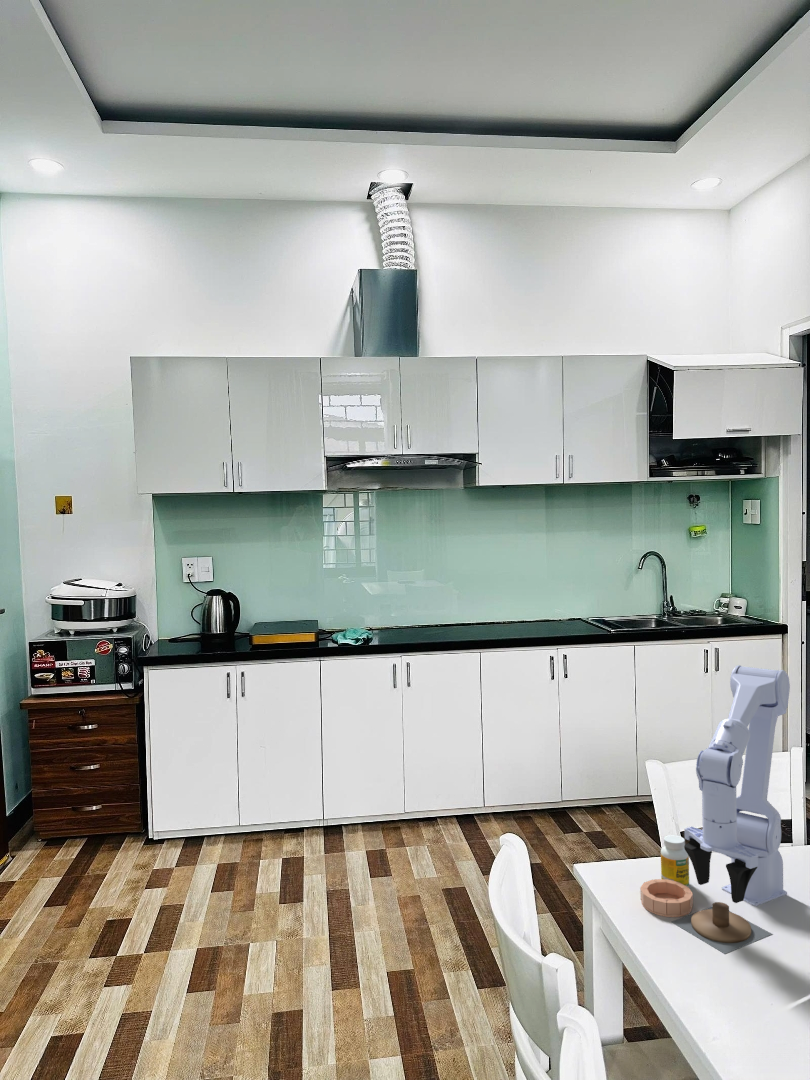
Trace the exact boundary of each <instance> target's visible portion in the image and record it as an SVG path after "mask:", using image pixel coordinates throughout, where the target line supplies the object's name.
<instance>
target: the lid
mask: <svg viewBox="0 0 810 1080" xmlns="http://www.w3.org/2000/svg"><path fill="white" fill-rule="evenodd" d="M711 907H712V909H707V908H706V909H707V910H704V909H701V910H698V911H697V912H694V913H695V914H693V913H692V914H693V916H692V918H691V925H692V928H693V929H694V930H695V931H696V932H697V933H698V934H699V935H701V936H703V937H705V938H707V939H710V940H713V941H717V942H722V943H739V942H743V941H745V940H747V939H749V937H750V936H751V926H750V924H749V922H750V921H749V920H747V919H745V918H744V917H743V916H742V915H739V914H736V913H734V912H732V911H730V906H729V905H728V904H727V903H725V902H721V901H716V902H713V903H712V904H711ZM729 911H730V912H729ZM731 912H732V913H731ZM748 921H749V922H748Z"/></svg>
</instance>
